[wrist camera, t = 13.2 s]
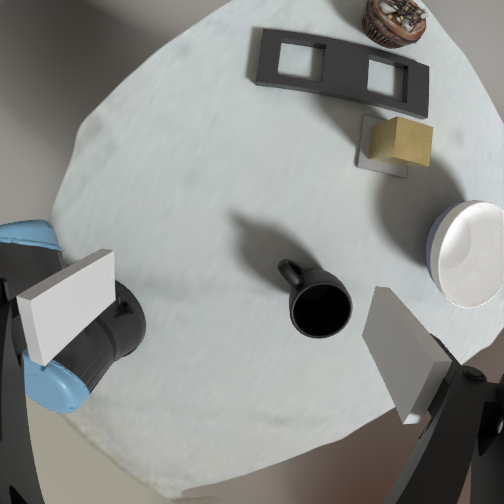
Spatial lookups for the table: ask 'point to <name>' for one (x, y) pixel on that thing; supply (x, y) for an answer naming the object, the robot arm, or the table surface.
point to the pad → (365, 148)
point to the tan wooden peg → (401, 142)
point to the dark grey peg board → (345, 72)
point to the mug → (316, 300)
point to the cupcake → (394, 22)
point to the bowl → (467, 252)
